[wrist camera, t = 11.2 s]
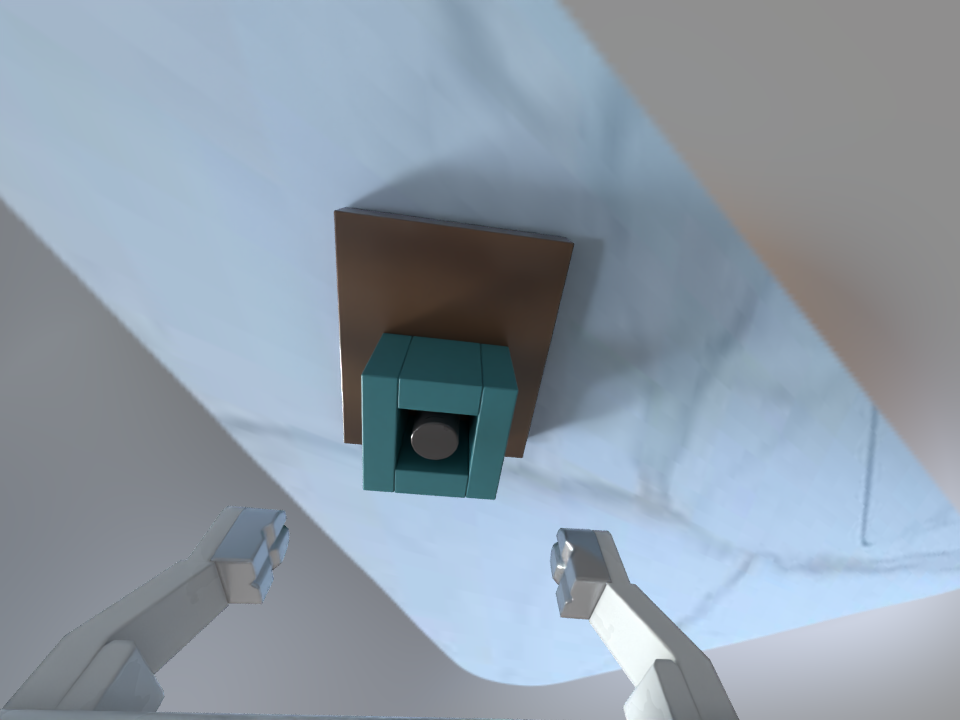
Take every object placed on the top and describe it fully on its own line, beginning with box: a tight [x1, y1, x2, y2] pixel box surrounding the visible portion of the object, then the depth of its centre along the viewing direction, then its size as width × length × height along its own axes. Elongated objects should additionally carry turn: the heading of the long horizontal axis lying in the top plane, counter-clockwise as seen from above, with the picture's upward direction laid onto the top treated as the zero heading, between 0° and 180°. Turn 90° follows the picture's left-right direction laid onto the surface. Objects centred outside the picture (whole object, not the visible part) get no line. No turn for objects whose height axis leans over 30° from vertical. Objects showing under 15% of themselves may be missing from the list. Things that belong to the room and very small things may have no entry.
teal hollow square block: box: [361, 333, 518, 500], centre depth 17 cm, size 6×6×4 cm
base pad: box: [334, 207, 574, 460], centre depth 17 cm, size 12×10×6 cm
